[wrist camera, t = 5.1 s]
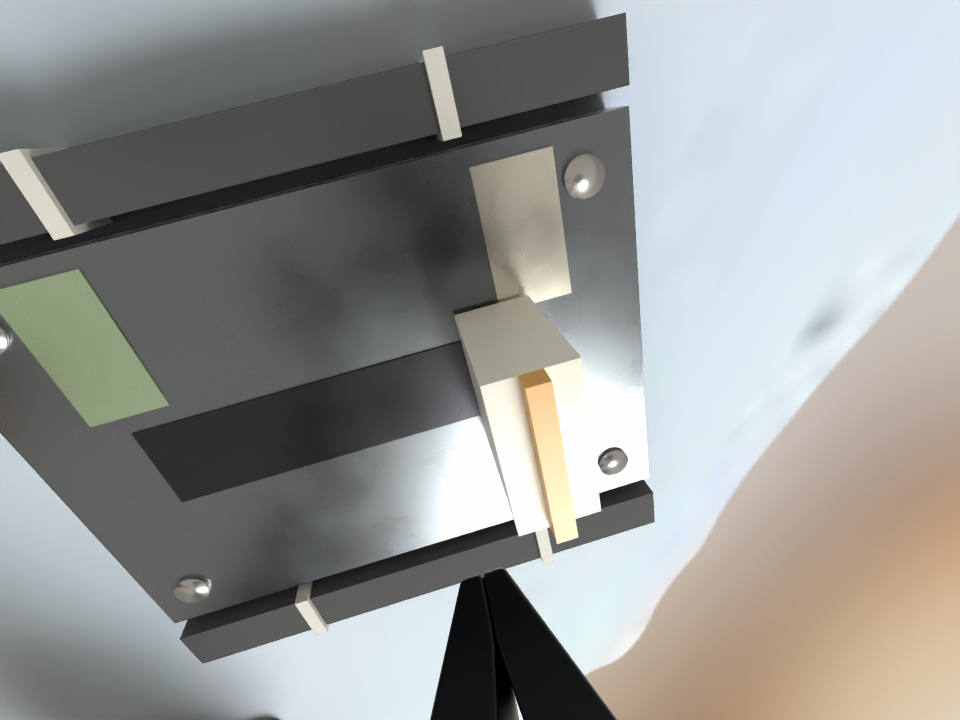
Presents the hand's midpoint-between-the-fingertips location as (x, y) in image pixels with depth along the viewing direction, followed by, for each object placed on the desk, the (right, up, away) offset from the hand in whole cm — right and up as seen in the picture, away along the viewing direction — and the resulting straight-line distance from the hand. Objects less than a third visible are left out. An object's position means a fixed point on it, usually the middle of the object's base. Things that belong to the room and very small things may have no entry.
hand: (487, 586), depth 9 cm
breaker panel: (-4, +3, +8) cm, 10 cm away
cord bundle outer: (-6, +10, +4) cm, 13 cm away
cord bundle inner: (-3, -4, +12) cm, 13 cm away
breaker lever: (+1, +4, +7) cm, 8 cm away
